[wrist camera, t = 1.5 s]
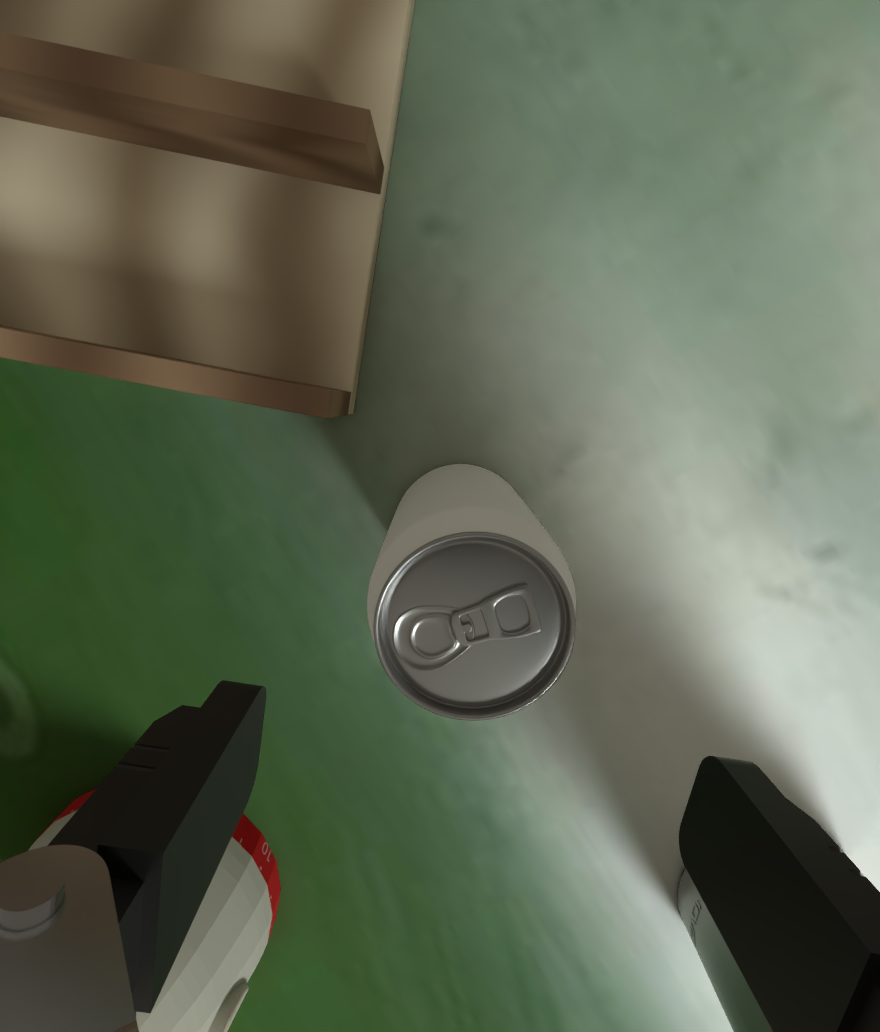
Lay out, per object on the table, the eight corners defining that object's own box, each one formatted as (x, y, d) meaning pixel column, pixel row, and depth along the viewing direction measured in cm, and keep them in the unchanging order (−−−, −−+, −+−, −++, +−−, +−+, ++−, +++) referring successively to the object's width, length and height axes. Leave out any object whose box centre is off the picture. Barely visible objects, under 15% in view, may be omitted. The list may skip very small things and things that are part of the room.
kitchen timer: (326, 861, 31) (224, 1278, 16) (203, 1009, 33) (16, 1490, 19) (114, 733, 29) (-217, 1073, 14) (-1, 900, 32) (-383, 1335, 17)
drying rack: (424, -66, 21) (419, -242, 15) (353, 413, 25) (326, 418, 19) (-37, -170, 21) (-227, -396, 15) (-35, 340, 25) (-183, 322, 19)
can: (376, 485, 26) (324, 557, 14) (504, 444, 26) (557, 484, 14) (418, 604, 27) (401, 759, 16) (540, 568, 27) (616, 699, 15)
